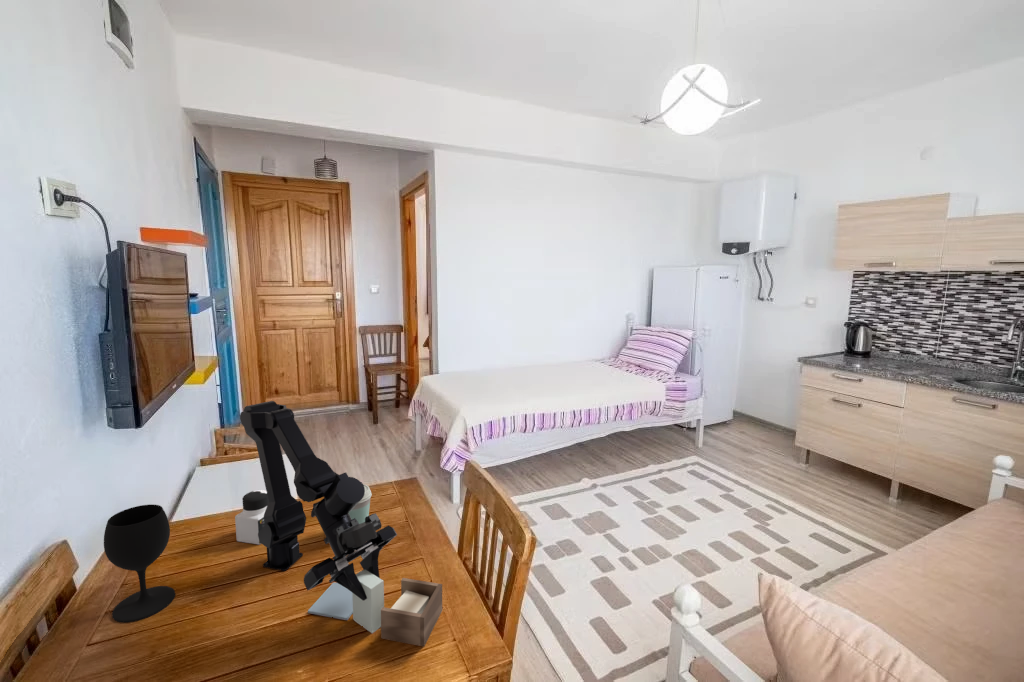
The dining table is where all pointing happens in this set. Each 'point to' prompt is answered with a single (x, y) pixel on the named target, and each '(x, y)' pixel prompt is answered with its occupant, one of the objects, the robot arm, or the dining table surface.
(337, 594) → the mat
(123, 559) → the wine glass
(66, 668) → the dining table surface
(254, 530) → the medicine bottle
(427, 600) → the offcut stack
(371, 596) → the pale grey rectangular block
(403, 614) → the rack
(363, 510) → the coffee cup
